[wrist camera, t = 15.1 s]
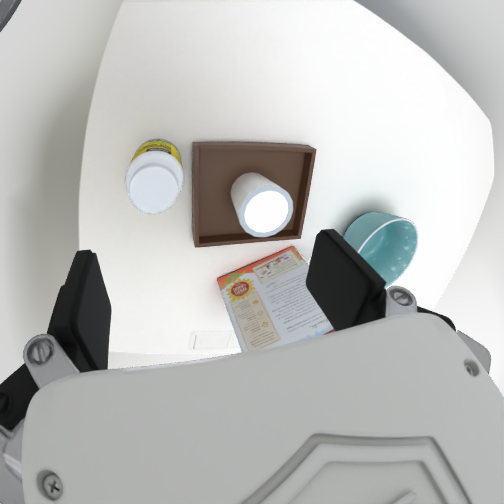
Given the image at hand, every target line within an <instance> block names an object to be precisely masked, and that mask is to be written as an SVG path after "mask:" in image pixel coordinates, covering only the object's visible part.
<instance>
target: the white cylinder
mask: <svg viewBox="0 0 504 504" xmlns="http://www.w3.org/2000/svg"><path fill="white" fill-rule="evenodd" d="M230 193H231V198H232V202H233V205H234V208H235V210H236V213H237V216H238V219H239V222H240V224H241V226H242V227H243V229H244V230H245V231H246V232H247V233H249V234H251V235H253V236H255V237H267V236H271V235H275V234H276V233H278V232H279V231H281V230H282V229H283V228H284V227H285V226H286V225H287V223H288V222H289V221H290V219H291V216H292V213H293V201H292V199H291V197H290V195H289V193H288V192H287V191H285V190H284V189H282V188H281V187H279V186H278V185H276V184H275V183H273V182H272V181H270V180H268V179H267V178H265V177H264V176H262V175H260V174H258V173H252V172H251V173H246V174H243V175H242V176H240V177H239V178H237V179H236V181H235V182H234V183H233V185H232V188H231V192H230Z"/></svg>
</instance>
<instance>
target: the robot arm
mask: <svg viewBox="0 0 504 504" xmlns="http://www.w3.org/2000/svg"><path fill="white" fill-rule="evenodd" d="M1 1H2V0H0V2H1ZM386 283H387V282H386V281H385V280H384V279H383V278H382V277H381V276H380V275H379V274H378V273H377V272H376V271H375V270H374V268H373V267H372V266H371V265H370V264H369V263H368V262H367V261H366V260H365V259H364V258H363V257H362V256H361V255H360V254H359V253H358V252H357V251H356V250H355V249H354V248H353V247H352V246H351V245H350V244H349V243H348V242H347V241H346V240H345V239H344V238H343V237H342V236H340V235H339V234H338V233H337V232H336V231H335V230H334V229H326V230H321V231H320V233H318V234H317V236H316V240H315V244H314V248H313V252H312V257H311V261H310V265H309V269H308V273H307V277H306V287H307V289H308V290H309V292H310V293H311V295H312V296H313V298H314V299H315V301H316V302H317V304H318V305H319V307H320V308H321V310H322V311H323V313H324V314H325V316H326V317H327V319H328V320H329V322H330V324H331V325H332V327H333V328H334V330H335V331H336V332H332V333H329V334H325V335H321V336H317V337H313V338H309V339H304V340H300V341H296V342H292V343H287V344H283V345H278V346H273V347H268V348H264V349H259V350H253V351H248V352H243V353H237V354H231V355H225V356H219V357H213V358H207V359H200V360H193V361H185V362H177V363H169V364H159V365H150V366H141V367H132V368H119V369H108V348H109V333H110V322H111V304H110V300H109V297H108V294H107V291H106V288H105V284H104V281H103V277H102V274H101V270H100V266H99V263H98V259H97V255H96V253H92V251H91V250H81V251H77V253H76V255H75V257H74V260H73V262H72V265H71V268H70V271H69V274H68V276H67V279H66V282H65V285H63V286H61V288H60V291H59V293H58V297H57V300H56V303H55V306H54V309H53V313H52V316H51V320H50V323H49V328H48V331H47V334H40V335H37V336H35V337H33V338H32V339H30V340H29V341H28V343H27V344H26V346H25V348H24V351H23V358H24V362H25V363H24V364H23V365H22V366H21V367H20V368H19V369H17V370H16V371H15V372H14V373H13V374H11V375H10V376H9V377H8V378H7V379H6V380H5V381H4V382H3V383H1V384H0V503H1V504H504V397H503V396H502V394H501V393H500V391H499V389H498V388H497V386H496V385H495V383H494V382H493V380H492V379H491V377H490V376H489V370H490V364H491V355H490V353H489V351H488V350H487V349H486V348H485V347H484V346H482V345H481V344H480V343H478V342H476V341H475V340H473V339H472V338H470V337H469V336H467V335H465V334H464V333H462V332H461V331H459V330H458V331H457V332H456V329H455V326H454V324H453V323H452V321H451V320H450V319H449V318H448V317H446V316H443V315H440V314H438V313H435V312H432V311H430V310H427V309H424V308H421V307H419V306H417V302H416V298H415V297H414V295H413V294H412V293H411V292H410V291H409V290H407V289H405V288H403V287H400V286H391V287H389V288H388V289H387V290H386V289H385V288H384V287H385V285H386Z"/></svg>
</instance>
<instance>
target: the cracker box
mask: <svg viewBox="0 0 504 504" xmlns="http://www.w3.org/2000/svg"><path fill="white" fill-rule="evenodd" d="M308 269H309V266H308V264H307V263H306V262H305V261H304V259H303V258H302V257H301V255H300V254H299V253H298V251H297V250H296V249H295V248H294V247H293V246H292V247H289V248H287V249H285V250H283V251H280V252H278V253H276V254H274V255H271V256H269V257H267V258H264V259H262V260H260V261H257V262H255V263H253V264H251V265H248V266H246V267H244V268H241V269H239V270H237V271H234V272H232V273H230V274H227V275H225V276H223V277H220V278H218V279H217V281H218V284H219V287H220V290H221V293H222V296H223V299H224V302H225V305H226V308H227V311H228V314H229V317H230V320H231V322H232V325H233V328H234V331H235V334H236V337H237V339H238V342H239V345H240V348H241V351H242V353H243V352H248V351H253V350H259V349H264V348H268V347H273V346H278V345H283V344H287V343H292V342H296V341H300V340H304V339H309V338H313V337H317V336H321V335H325V334H329V333H332V332H336V331H335V330H334V328H333V327H332V325H331V324H330V322H329V320H328V319H327V317H326V316H325V314H324V313H323V311H322V310H321V308H320V307H319V305H318V304H317V302H316V301H315V299H314V298H313V296H312V295H311V293H310V292H309V290H308V289H307V287H306V277H307V273H308Z"/></svg>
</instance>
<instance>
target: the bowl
mask: <svg viewBox="0 0 504 504" xmlns="http://www.w3.org/2000/svg"><path fill="white" fill-rule="evenodd" d="M343 238H344V239H345V240H346V241H347V242H348V243H349V244H350V245H351V246H352V247H353V248H354V249H355V250H356V251H357V252H358V253H359V254H360V255H361V256H362V257H363V258H364V259H365V260H366V261H367V262H368V263H369V264H370V265H371V266H372V267H373V268H374V270H375V271H376V272H377V273H378V274H379V275H380V276H381V277H382V278H383V279H384V280H385V281H386V282H387V283H386V285H385V287H384V288H386V287H388V286H390V285H391V284H392V283H393V282H395V281H396V280H397V279H398V278H399V277H400V276H401V275H402V274H403V273H404V271H405V270H406V269H407V267H408V266H409V264H410V263H411V261H412V259H413V257H414V255H415V252H416V249H417V245H418V231H417V228H416V226H415V224H414V223H413V222H412V221H411V220H409V219H406V218H402V217H398V216H394V215H390V214H385V213H380V212H369V213H366V214H364V215H362V216H360V217H359V218H357V219H356V220H355V221H354V222H353V223H352V224H351V225H350V226H349V228H348V229H347V231H346V232H345V234H344V237H343Z"/></svg>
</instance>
